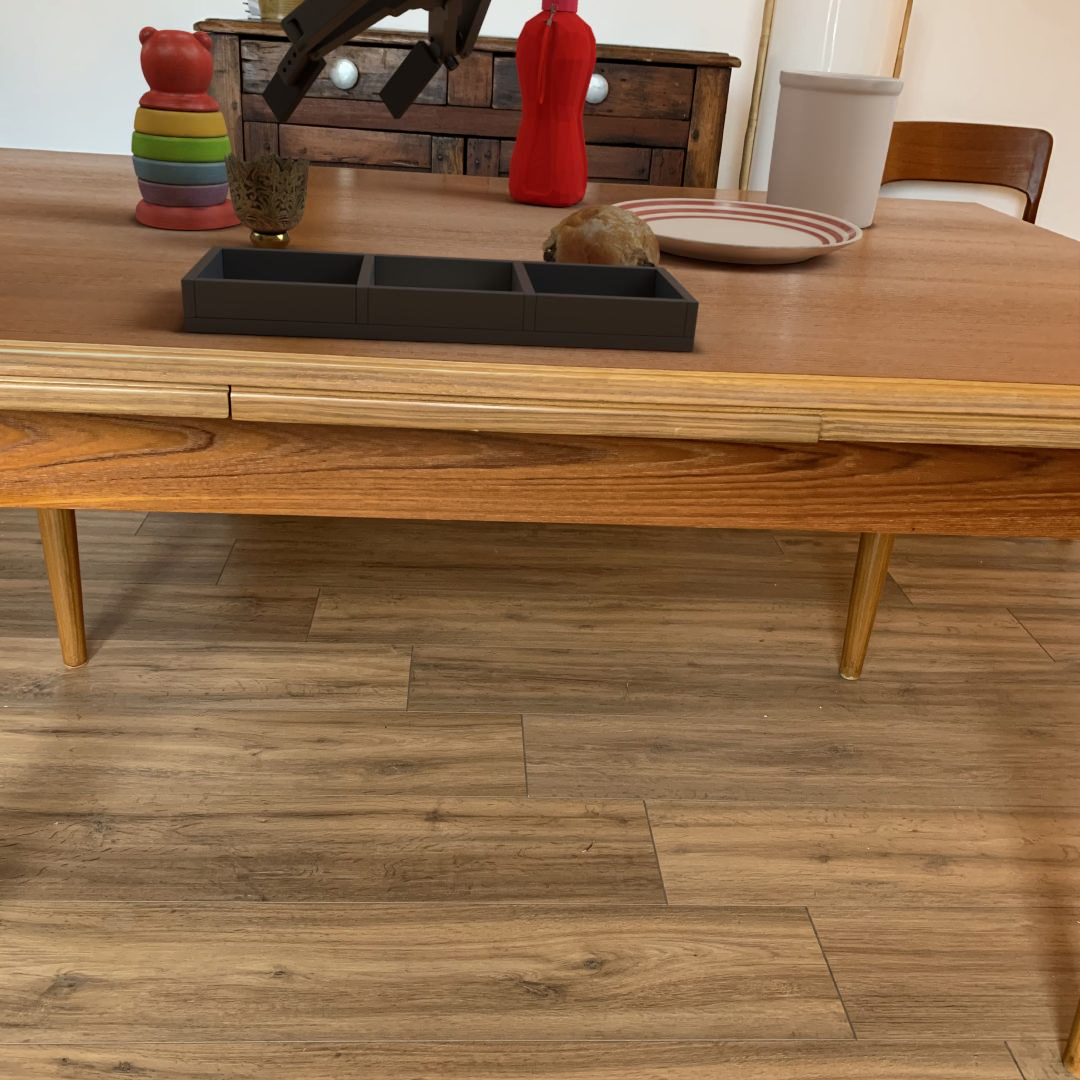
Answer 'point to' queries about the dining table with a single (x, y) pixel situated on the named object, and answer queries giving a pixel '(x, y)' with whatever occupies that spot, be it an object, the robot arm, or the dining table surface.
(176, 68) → the stacking bear
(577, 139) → the water bottle
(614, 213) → the bread roll
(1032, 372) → the dining table surface
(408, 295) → the compartment tray
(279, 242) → the cup
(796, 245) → the dinner plate
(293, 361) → the dining table surface
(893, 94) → the utensil holder
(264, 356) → the dining table surface
